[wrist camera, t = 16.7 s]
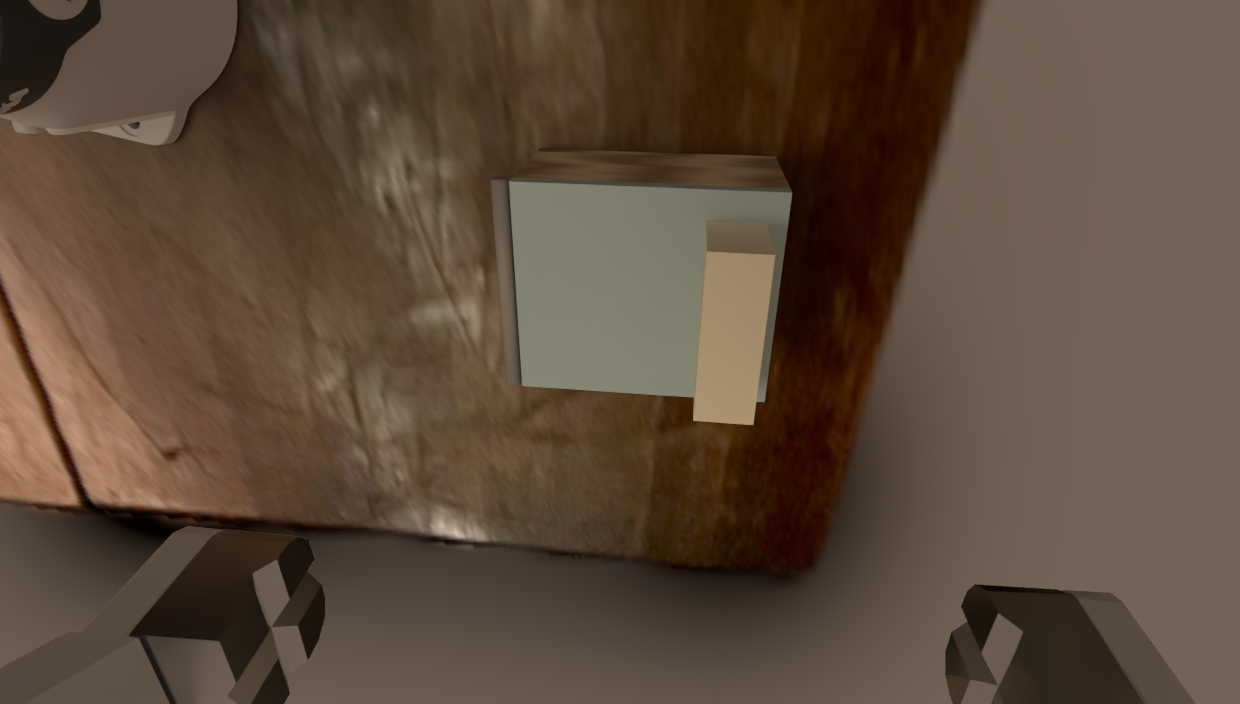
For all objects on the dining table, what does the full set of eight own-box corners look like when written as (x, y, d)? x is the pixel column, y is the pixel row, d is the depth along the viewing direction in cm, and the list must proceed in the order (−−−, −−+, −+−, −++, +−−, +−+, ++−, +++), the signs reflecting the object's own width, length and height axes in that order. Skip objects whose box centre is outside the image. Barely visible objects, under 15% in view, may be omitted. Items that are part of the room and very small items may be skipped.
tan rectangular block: (694, 375, 38) (693, 420, 34) (706, 220, 34) (706, 251, 30) (748, 379, 38) (753, 424, 34) (767, 223, 34) (775, 255, 30)
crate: (547, 326, 47) (525, 378, 41) (540, 148, 41) (513, 177, 35) (753, 337, 46) (763, 392, 40) (775, 156, 40) (789, 187, 34)
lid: (508, 377, 41) (504, 385, 40) (492, 176, 35) (488, 181, 34) (763, 394, 39) (764, 403, 39) (790, 188, 34) (792, 193, 33)
